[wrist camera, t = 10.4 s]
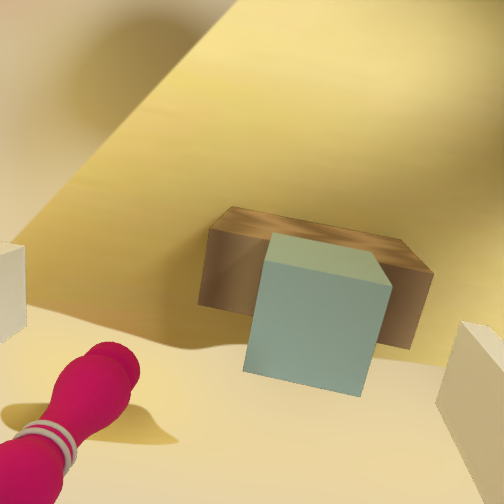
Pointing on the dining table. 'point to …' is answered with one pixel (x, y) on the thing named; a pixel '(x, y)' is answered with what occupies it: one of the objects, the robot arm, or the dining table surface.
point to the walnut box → (263, 225)
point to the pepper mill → (67, 423)
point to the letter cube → (317, 314)
